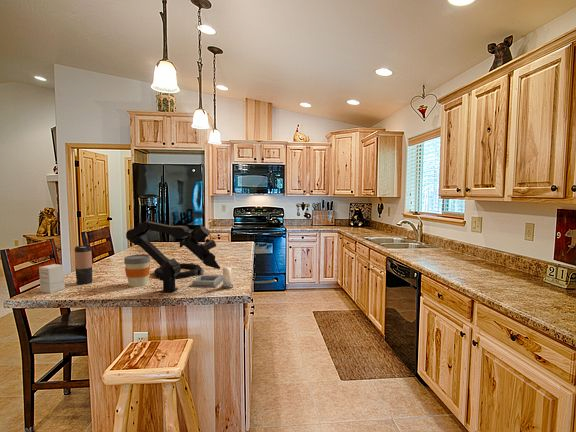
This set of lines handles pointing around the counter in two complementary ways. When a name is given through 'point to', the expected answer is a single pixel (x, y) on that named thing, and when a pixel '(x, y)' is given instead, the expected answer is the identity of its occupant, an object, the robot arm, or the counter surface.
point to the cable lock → (196, 271)
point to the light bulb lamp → (227, 278)
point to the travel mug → (83, 264)
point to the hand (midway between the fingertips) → (217, 266)
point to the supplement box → (51, 278)
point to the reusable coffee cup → (137, 269)
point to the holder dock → (207, 281)
